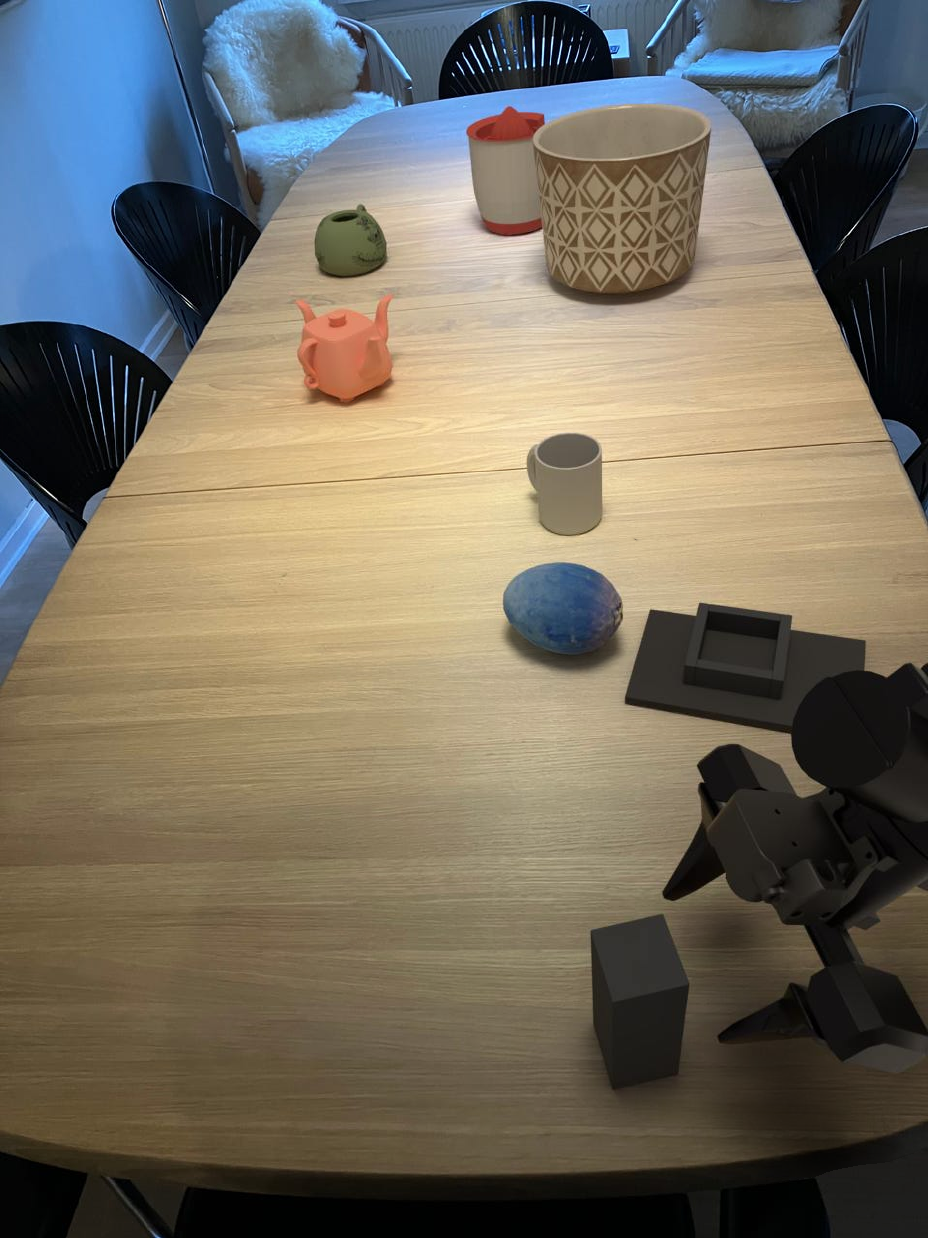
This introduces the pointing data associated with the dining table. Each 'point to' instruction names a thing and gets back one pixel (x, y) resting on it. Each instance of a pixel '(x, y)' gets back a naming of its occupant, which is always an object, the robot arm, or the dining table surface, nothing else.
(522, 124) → the citrus juicer
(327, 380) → the teapot
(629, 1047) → the pad block
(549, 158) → the planter
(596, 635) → the blue oval fruit
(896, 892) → the robot arm
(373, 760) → the dining table surface
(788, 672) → the base pad
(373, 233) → the green round vase
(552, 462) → the cup
